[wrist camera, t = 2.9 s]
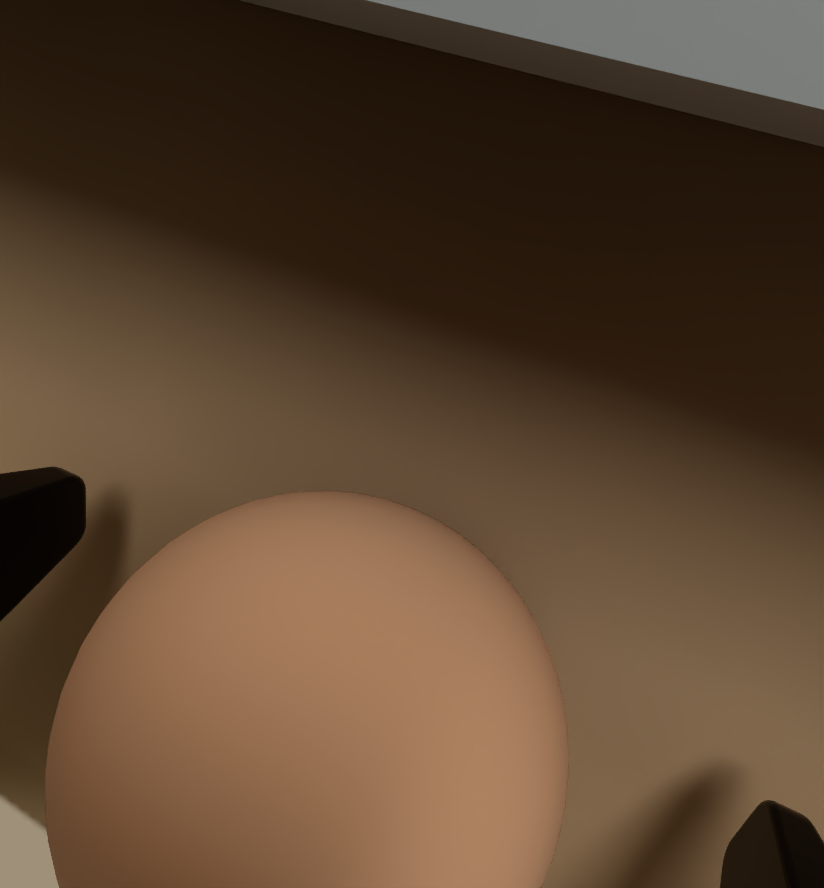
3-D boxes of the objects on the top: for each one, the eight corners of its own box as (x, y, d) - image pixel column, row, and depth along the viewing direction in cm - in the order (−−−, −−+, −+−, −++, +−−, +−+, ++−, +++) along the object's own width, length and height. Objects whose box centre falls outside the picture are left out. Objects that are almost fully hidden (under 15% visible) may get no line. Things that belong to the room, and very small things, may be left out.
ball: (233, 647, 11) (-66, 973, 7) (272, 364, 8) (-160, 591, 4) (527, 794, 10) (394, 1304, 5) (667, 517, 7) (623, 1035, 3)
